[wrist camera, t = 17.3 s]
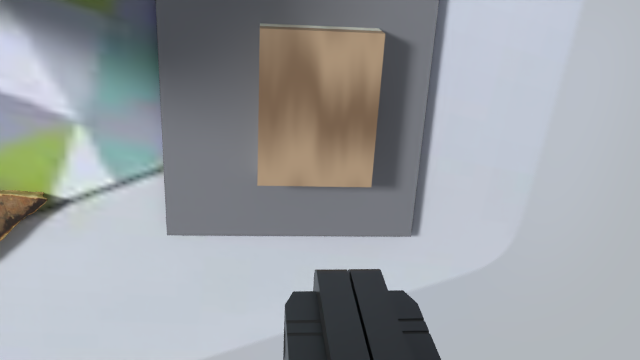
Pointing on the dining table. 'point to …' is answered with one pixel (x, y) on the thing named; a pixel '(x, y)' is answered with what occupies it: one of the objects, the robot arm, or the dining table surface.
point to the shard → (17, 208)
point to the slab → (318, 104)
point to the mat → (243, 107)
